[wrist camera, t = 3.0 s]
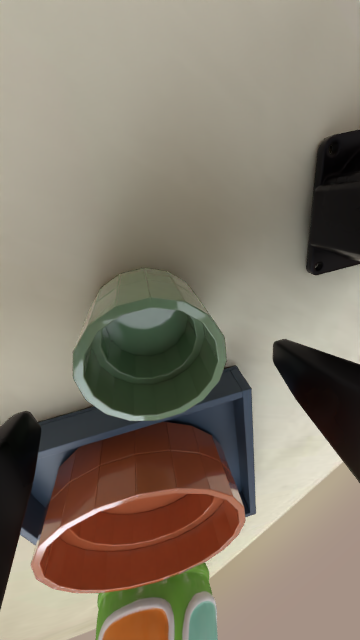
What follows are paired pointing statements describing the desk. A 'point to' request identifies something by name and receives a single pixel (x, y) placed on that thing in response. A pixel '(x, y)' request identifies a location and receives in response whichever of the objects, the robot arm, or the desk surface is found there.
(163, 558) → the terracotta bowl
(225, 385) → the tray
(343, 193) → the robot arm
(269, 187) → the desk surface
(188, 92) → the desk surface
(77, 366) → the sage bowl
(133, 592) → the turtle holder
